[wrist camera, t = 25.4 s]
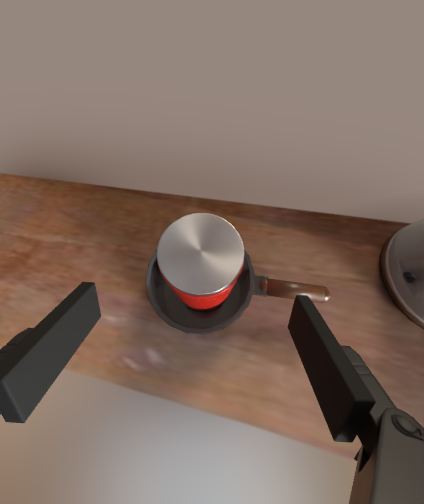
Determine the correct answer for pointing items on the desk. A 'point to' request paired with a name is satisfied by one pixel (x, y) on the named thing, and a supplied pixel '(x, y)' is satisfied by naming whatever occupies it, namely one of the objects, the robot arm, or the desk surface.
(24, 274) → the desk surface
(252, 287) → the skillet
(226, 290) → the tomato can
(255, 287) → the skillet handle
